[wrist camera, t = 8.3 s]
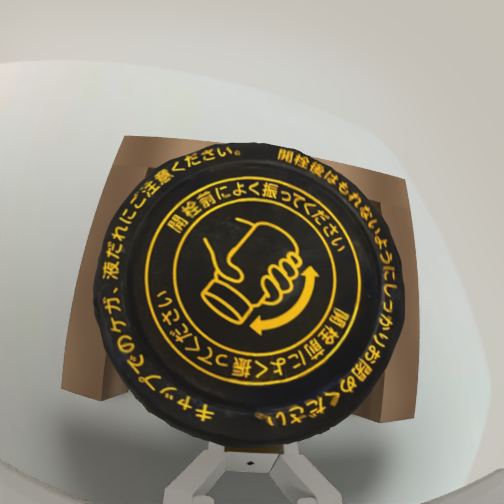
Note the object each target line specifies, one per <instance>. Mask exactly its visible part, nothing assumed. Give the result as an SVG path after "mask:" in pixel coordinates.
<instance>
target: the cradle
mask: <svg viewBox="0 0 504 504" xmlns="http://www.w3.org/2000/svg"><path fill="white" fill-rule="evenodd" d="M214 144H227V143H218V142H209V141H199V140H189V139H177V138H163V137H145V136H124V138H123V141H122V143H121V145H120V148H119V150H118V153H117V155H116V158H115V160H114V163H113V165H112V168H111V170H110V173H109V176H108V178H107V181H106V184H105V186H104V189H103V192H102V195H101V198H100V201H99V204H98V207H97V210H96V213H95V216H94V219H93V223H92V226H91V229H90V233H89V236H88V240H87V243H86V247H85V251H84V254H83V258H82V262H81V266H80V270H79V275H78V279H77V284H76V288H75V293H74V298H73V303H72V308H71V314H70V320H69V326H68V332H67V339H66V347H65V355H64V364H63V374H62V386H61V389H64V390H67V391H69V392H72V393H76V394H79V395H82V396H85V397H88V398H92V399H95V400H98V401H103V400H106V399H109V398H112V397H115V396H118V395H120V394H123V393H126V392H128V387H127V386H126V385H125V384H124V382H123V381H122V380H121V378H120V376H119V374H118V373H117V371H116V370H115V368H114V366H113V364H112V362H111V360H110V359H109V358H108V356H107V354H106V352H105V349H104V346H103V341H102V336H101V332H100V328H99V326H98V324H97V321H96V318H95V315H94V306H93V283H94V276H95V272H96V269H97V263H98V257H99V255H100V252H101V249H102V244H103V240H104V236H105V234H106V231H107V228H108V226H109V223H110V222H111V220H112V218H113V216H114V214H115V213H116V211H117V210H118V209H119V207H120V206H121V205H122V203H123V202H124V201H125V199H126V198H127V197H128V196H129V194H130V193H131V192H132V191H133V189H134V188H135V187H136V186H137V185H138V184H139V183H140V182H141V181H142V180H143V179H144V178H145V177H147V176H148V175H149V174H150V173H151V172H152V171H153V170H154V169H156V168H157V167H159V166H160V165H162V164H163V163H165V162H167V161H169V160H171V159H174V158H178V157H181V156H184V155H187V154H190V153H192V152H195V151H198V150H200V149H203V148H205V147H207V146H210V145H214ZM309 157H311V156H309ZM311 158H314V157H311ZM314 159H316V160H318V161H320V162H322V163H324V164H326V165H328V166H330V167H332V168H333V169H334V170H335V171H337V172H339V173H341V174H342V175H343V176H345V177H346V178H347V179H348V180H350V181H351V182H352V183H354V184H355V185H356V186H357V187H358V188H359V189H360V191H361V192H362V193H363V194H364V195H365V196H366V197H367V198H368V200H369V201H370V202H371V203H372V204H373V206H374V207H375V208H376V209H377V211H378V212H379V213H380V214H381V215H382V216H383V218H384V220H385V222H386V223H387V225H388V226H389V229H390V232H391V235H392V238H393V240H394V243H395V245H396V248H397V251H398V253H399V255H400V258H401V262H402V274H403V281H404V286H405V321H404V325H403V329H402V332H401V334H400V337H399V339H398V342H397V344H396V346H395V349H394V352H393V354H392V357H391V359H390V362H389V364H388V366H387V368H386V369H385V371H384V372H383V374H382V375H381V377H380V378H379V380H378V381H377V383H376V384H375V386H374V388H373V389H372V391H371V393H370V394H369V396H368V397H367V398H366V399H365V401H364V402H363V403H362V405H361V406H360V407H359V408H358V409H357V410H356V411H355V412H353V413H352V414H354V415H357V416H360V417H363V418H366V419H369V420H372V421H375V422H378V423H384V422H392V421H399V420H405V419H411V418H414V413H415V404H416V394H417V382H418V367H419V290H418V273H417V261H416V250H415V241H414V233H413V225H412V218H411V211H410V205H409V199H408V193H407V187H406V182H405V179H402V178H398V177H395V176H391V175H387V174H383V173H380V172H376V171H372V170H368V169H364V168H360V167H355V166H351V165H347V164H342V163H338V162H333V161H329V160H324V159H319V158H314Z"/></svg>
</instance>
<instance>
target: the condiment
mask: <svg viewBox="0 0 504 504" xmlns="http://www.w3.org/2000/svg"><path fill="white" fill-rule="evenodd" d="M93 306H94V315H95V318H96V321H97V324H98V326H99V328H100V332H101V336H102V341H103V346H104V349H105V352H106V354H107V356H108V358H109V359H110V360H111V362H112V364H113V366H114V368H115V370H116V371H117V373H118V374H119V376H120V378H121V380H122V381H123V382H124V384H125V385H126V386H127V387H128V388H129V390H130V391H131V392H132V393H133V395H134V396H135V398H136V399H137V400H138V401H139V402H141V403H142V404H143V406H144V407H145V408H146V409H147V411H148V412H150V413H152V414H154V415H155V416H157V417H159V418H160V419H162V420H164V421H165V422H166V423H168V424H169V425H170V426H172V427H174V428H176V429H178V430H180V431H182V432H185V433H187V434H189V435H191V436H193V437H196V438H200V439H202V440H206V441H210V442H212V443H215V444H218V445H221V446H225V447H230V448H258V447H268V446H271V445H284V444H286V445H288V444H291V443H293V442H297V441H301V440H304V439H307V438H310V437H312V436H314V435H317V434H322V433H324V432H326V431H328V430H329V429H330V428H331V427H334V426H336V425H337V424H338V423H340V422H341V421H343V420H344V419H345V418H347V417H348V416H350V415H351V414H352V413H353V412H355V411H356V410H357V409H358V408H359V407H360V406H361V405H362V403H363V402H364V401H365V399H366V398H367V397H368V396H369V394H370V393H371V391H372V389H373V388H374V386H375V384H376V383H377V381H378V380H379V378H380V377H381V375H382V374H383V372H384V371H385V369H386V368H387V366H388V364H389V362H390V359H391V357H392V354H393V352H394V349H395V346H396V344H397V342H398V339H399V337H400V334H401V332H402V329H403V325H404V321H405V286H404V281H403V274H402V262H401V258H400V255H399V253H398V251H397V248H396V245H395V243H394V240H393V238H392V235H391V232H390V229H389V226H388V225H387V223H386V222H385V220H384V218H383V216H382V215H381V214H380V213H379V212H378V211H377V209H376V208H375V207H374V206H373V204H372V203H371V202H370V201H369V200H368V198H367V197H366V196H365V195H364V194H363V193H362V192H361V191H360V189H359V188H358V187H357V186H356V185H355V184H354V183H352V182H351V181H350V180H348V179H347V178H346V177H345V176H343V175H342V174H341V173H339V172H337V171H335V170H334V169H333V168H332V167H330V166H328V165H326V164H324V163H322V162H320V161H318V160H316V159H314V158H311V157H309V156H308V155H305V154H303V153H302V152H300V151H298V150H295V149H291V148H285V147H280V146H276V145H270V144H266V143H259V144H258V143H255V142H253V143H227V144H214V145H210V146H207V147H205V148H203V149H200V150H198V151H195V152H192V153H190V154H187V155H184V156H181V157H178V158H174V159H171V160H169V161H167V162H165V163H163V164H162V165H160V166H159V167H157V168H156V169H154V170H153V171H152V172H151V173H150V174H149V175H148V176H147V177H145V178H144V179H143V180H142V181H141V182H140V183H139V184H138V185H137V186H136V187H135V188H134V189H133V191H132V192H131V193H130V194H129V196H128V197H127V198H126V199H125V201H124V202H123V203H122V205H121V206H120V207H119V209H118V210H117V211H116V213H115V214H114V216H113V218H112V220H111V222H110V223H109V226H108V228H107V231H106V234H105V236H104V240H103V244H102V249H101V252H100V255H99V257H98V263H97V269H96V272H95V276H94V283H93Z"/></svg>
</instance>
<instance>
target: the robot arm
mask: <svg viewBox="0 0 504 504" xmlns="http://www.w3.org/2000/svg"><path fill="white" fill-rule="evenodd" d="M224 471H233V472H254V473H269V475H270V476H271V478H272V479H273V481H274V482H275V483H276V485H277V486H278V487H279V489H280V490H281V492H282V493H283V494H284V496H285V497H286V498H287V500H288V501H289V502H290V504H343V503H342V497H341V493H340V492H339V491H338V490H337V489H336V488H335V487H334V486H333V485H332V484H331V483H330V482H329V481H328V480H327V479H326V478H325V477H324V476H323V475H322V474H321V473H320V472H319V471H318V470H317V469H316V468H315V467H314V466H313V464H312V463H311V462H310V461H309V460H308V459H307V458H306V457H305V456H304V455H303V454H299V448H298V441H297V442H293V443H291V444H288V445H286V444H284V445H271V446H268V447H258V448H230V447H225V446H221V445H218V444H215V443H212V442H210V441H209V442H208V450H203V451H202V452H201V453H200V454H199V455H198V456H197V457H196V458H195V459H194V460H193V461H192V462H191V463H190V465H189V466H188V467H187V468H186V469H185V470H184V471H183V472H182V473H181V474H180V475H179V476H178V477H177V478H176V479H175V480H174V481H173V482H172V483H170V484H169V485H168V486H167V487H166V488H165V492H164V498H163V504H214V499H213V498H211V497H210V496H205V495H206V494H207V493H208V492H209V490H210V489H211V488H212V487H213V486H214V484H215V483H216V482H217V481H218V479H219V478H220V477H221V476H222V474H223V473H224ZM0 504H93V503H91V502H88V501H85V500H82V499H80V498H77V497H75V496H72V495H70V494H67V493H65V492H62V491H60V490H58V489H55V488H53V487H51V486H49V485H47V484H45V483H43V482H40V481H38V480H36V479H34V478H33V477H31V476H29V475H27V474H25V473H23V472H21V471H19V470H18V469H16V468H14V467H12V466H11V465H9V464H7V463H6V462H4V461H2V460H1V459H0ZM422 504H504V469H498V470H495V471H493V472H492V473H490V474H488V475H486V476H484V477H482V478H480V479H478V480H476V481H474V482H472V483H470V484H468V485H466V486H464V487H462V488H459V489H457V490H455V491H453V492H450V493H448V494H445V495H443V496H440V497H438V498H435V499H433V500H430V501H427V502H425V503H422Z"/></svg>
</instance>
